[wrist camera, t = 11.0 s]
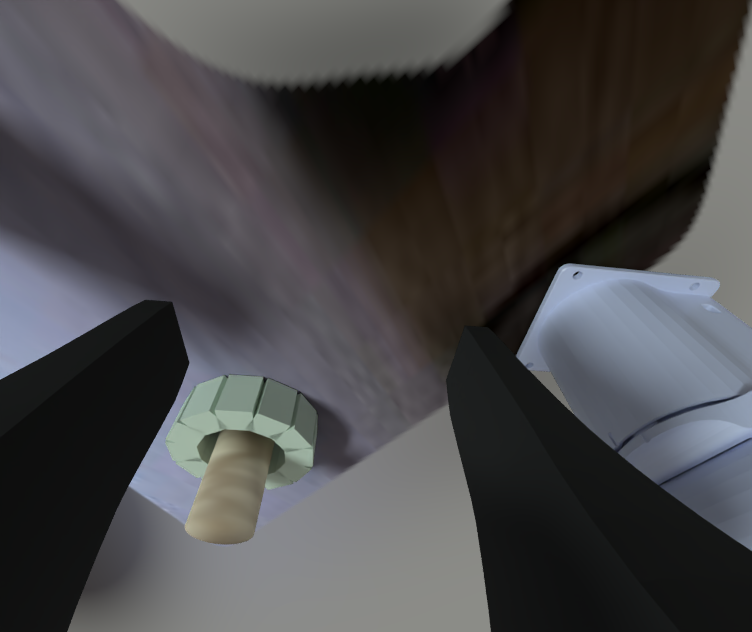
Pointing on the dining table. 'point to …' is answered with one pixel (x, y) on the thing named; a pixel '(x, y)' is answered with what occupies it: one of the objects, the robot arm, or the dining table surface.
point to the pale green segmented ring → (246, 425)
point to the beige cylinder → (231, 488)
